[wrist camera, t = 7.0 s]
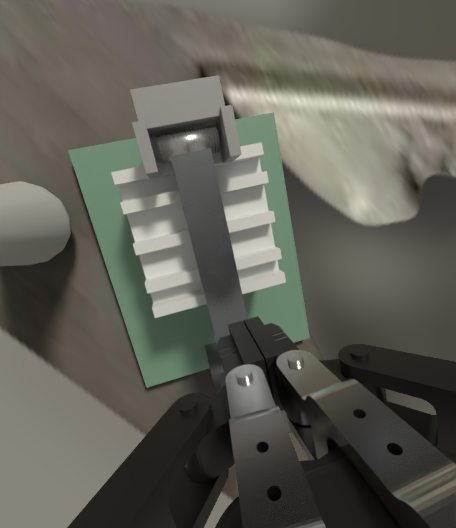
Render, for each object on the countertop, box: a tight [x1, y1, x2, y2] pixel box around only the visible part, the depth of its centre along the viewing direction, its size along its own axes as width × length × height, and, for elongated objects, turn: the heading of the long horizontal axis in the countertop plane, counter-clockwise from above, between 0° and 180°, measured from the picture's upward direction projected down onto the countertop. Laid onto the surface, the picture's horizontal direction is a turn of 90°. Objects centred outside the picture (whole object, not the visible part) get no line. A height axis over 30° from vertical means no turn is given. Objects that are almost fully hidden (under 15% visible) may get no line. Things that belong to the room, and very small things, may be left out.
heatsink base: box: [68, 76, 310, 388], centre depth 20 cm, size 16×21×10 cm
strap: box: [155, 125, 248, 344], centre depth 16 cm, size 3×13×1 cm, turn 12°
